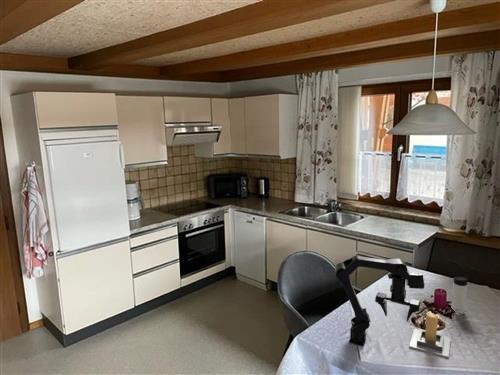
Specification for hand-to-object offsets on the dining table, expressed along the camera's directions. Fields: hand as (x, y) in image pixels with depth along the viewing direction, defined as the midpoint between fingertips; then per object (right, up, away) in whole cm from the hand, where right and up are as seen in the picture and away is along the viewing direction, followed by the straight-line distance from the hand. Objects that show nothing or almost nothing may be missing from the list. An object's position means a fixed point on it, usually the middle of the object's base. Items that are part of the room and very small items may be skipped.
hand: (396, 318), depth 169 cm
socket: (+17, -12, +2) cm, 21 cm away
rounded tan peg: (+16, -12, +2) cm, 20 cm away
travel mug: (+44, -7, +27) cm, 52 cm away
